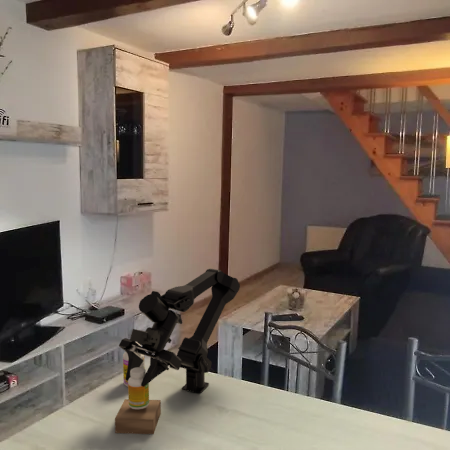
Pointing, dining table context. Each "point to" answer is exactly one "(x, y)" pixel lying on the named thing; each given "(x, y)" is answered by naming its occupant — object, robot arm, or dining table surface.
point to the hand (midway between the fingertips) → (134, 383)
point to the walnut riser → (138, 418)
